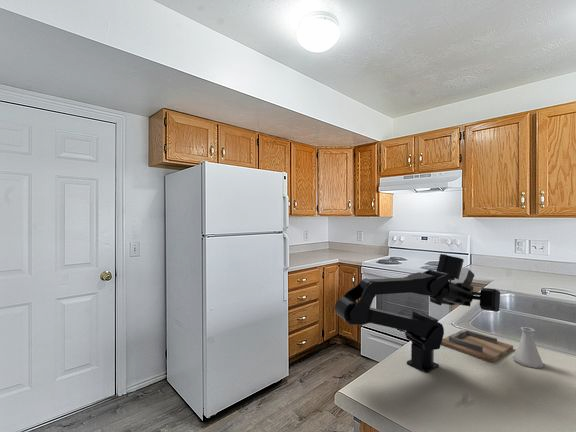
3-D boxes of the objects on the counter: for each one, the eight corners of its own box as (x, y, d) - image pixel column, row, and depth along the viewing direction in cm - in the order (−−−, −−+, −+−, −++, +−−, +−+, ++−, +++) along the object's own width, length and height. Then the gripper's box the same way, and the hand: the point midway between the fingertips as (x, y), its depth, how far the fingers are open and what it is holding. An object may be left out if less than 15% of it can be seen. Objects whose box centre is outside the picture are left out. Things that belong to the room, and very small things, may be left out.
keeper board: (491, 362, 89) (491, 353, 89) (438, 344, 102) (438, 336, 102) (513, 349, 98) (513, 340, 98) (461, 333, 111) (461, 326, 111)
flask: (549, 370, 85) (549, 334, 85) (520, 367, 86) (520, 332, 86) (534, 358, 92) (534, 325, 92) (507, 356, 94) (507, 323, 94)
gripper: (484, 266, 85) (515, 279, 91) (426, 264, 101) (456, 275, 107) (481, 306, 82) (513, 316, 88) (423, 298, 98) (453, 307, 105)
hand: (481, 302), depth 97 cm, fingers open, 9 cm apart
